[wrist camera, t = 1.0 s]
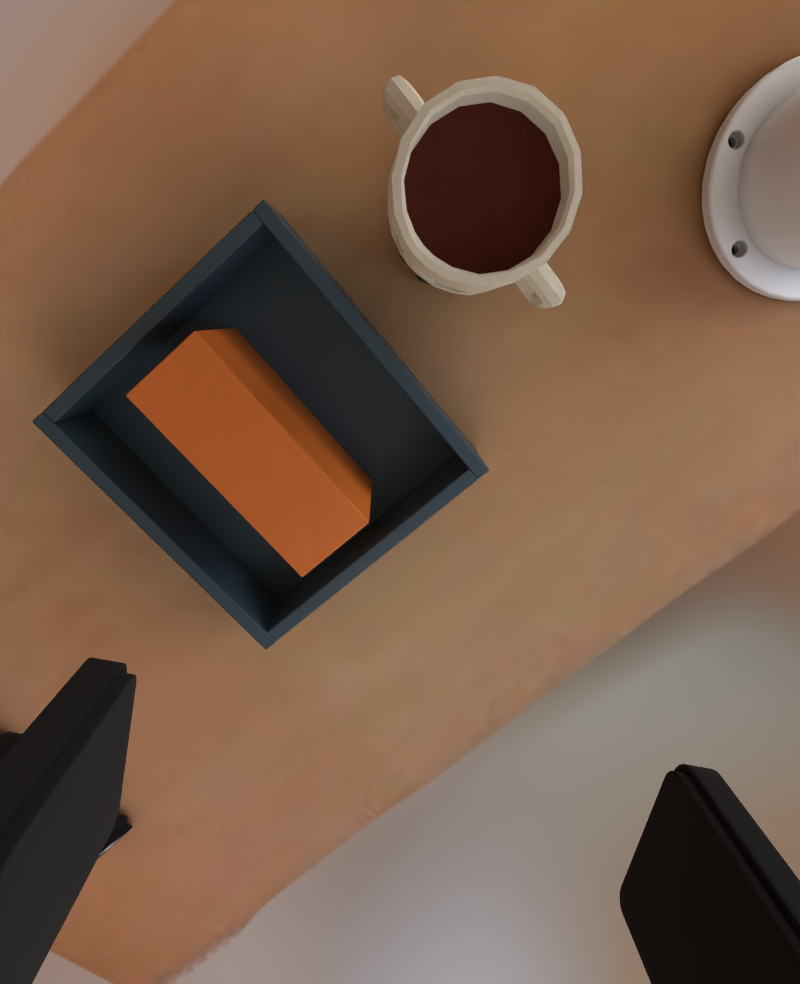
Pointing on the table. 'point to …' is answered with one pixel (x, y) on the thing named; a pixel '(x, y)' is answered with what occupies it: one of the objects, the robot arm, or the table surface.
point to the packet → (257, 445)
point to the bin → (312, 378)
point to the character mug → (482, 186)
